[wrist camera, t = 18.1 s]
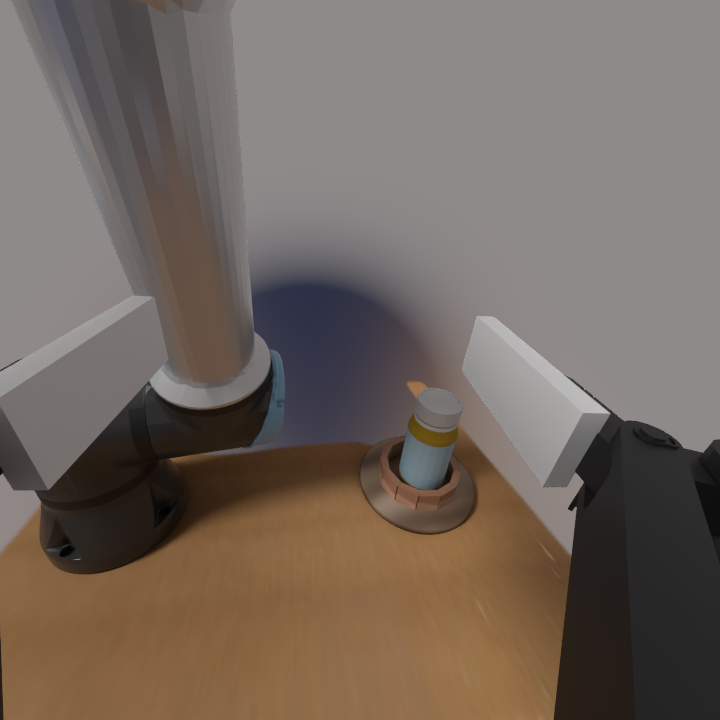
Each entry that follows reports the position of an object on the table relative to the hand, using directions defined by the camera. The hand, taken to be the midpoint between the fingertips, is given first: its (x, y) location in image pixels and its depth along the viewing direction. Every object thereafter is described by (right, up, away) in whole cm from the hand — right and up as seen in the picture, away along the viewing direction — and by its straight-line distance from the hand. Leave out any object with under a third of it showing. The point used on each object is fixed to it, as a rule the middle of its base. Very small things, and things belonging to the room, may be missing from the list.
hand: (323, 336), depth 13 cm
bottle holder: (+10, -20, +38) cm, 44 cm away
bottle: (+11, -20, +37) cm, 44 cm away
